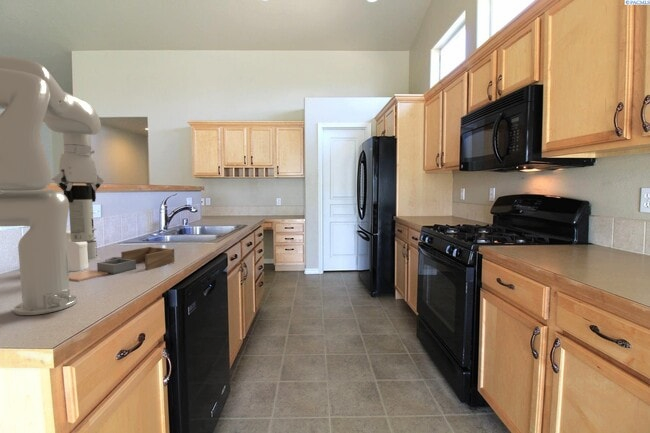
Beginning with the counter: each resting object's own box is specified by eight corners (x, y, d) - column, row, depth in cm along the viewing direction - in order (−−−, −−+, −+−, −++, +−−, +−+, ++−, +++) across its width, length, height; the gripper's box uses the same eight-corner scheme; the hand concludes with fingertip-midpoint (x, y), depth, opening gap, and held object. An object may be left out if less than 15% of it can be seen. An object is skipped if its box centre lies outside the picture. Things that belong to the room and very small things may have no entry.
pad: (108, 274, 115) (107, 272, 115) (78, 281, 106) (78, 279, 106) (89, 271, 118) (89, 269, 118) (60, 278, 109) (60, 276, 109)
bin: (136, 268, 123) (135, 260, 123) (114, 274, 115) (113, 265, 114) (120, 266, 126) (119, 258, 126) (97, 271, 118) (97, 262, 117)
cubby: (174, 262, 134) (174, 249, 133) (147, 269, 122) (147, 254, 121) (150, 259, 139) (149, 246, 138) (121, 266, 126) (121, 252, 126)
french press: (82, 263, 131) (79, 204, 129) (64, 261, 134) (60, 204, 132) (105, 258, 140) (102, 203, 138) (87, 256, 144) (84, 203, 142)
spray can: (97, 240, 112) (95, 185, 110) (75, 242, 106) (72, 185, 105) (89, 238, 116) (87, 185, 114) (67, 241, 110) (64, 185, 108)
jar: (49, 274, 114) (46, 234, 112) (51, 269, 121) (49, 231, 120) (88, 269, 121) (86, 232, 119) (88, 264, 128) (86, 229, 127)
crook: (145, 260, 139) (145, 256, 139) (139, 263, 133) (139, 259, 133) (113, 260, 138) (113, 257, 138) (105, 263, 132) (105, 259, 132)
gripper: (96, 154, 118) (98, 201, 119) (41, 148, 101) (45, 202, 103) (109, 153, 115) (112, 201, 117) (56, 147, 99) (59, 203, 100)
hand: (80, 201), depth 110 cm, fingers closed on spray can, 6 cm apart
